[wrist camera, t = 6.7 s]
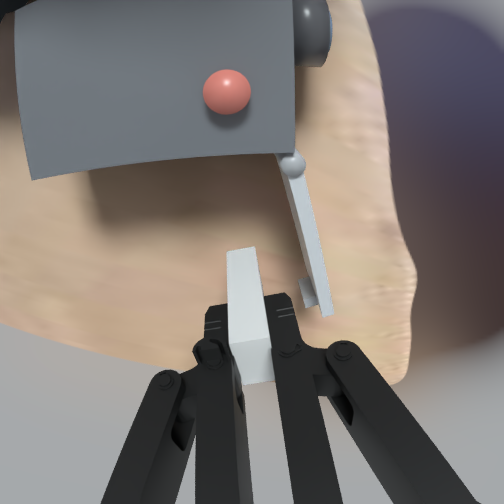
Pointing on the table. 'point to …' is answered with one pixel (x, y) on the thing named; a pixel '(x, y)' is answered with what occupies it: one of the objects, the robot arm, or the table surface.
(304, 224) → the door
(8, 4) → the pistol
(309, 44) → the camera body
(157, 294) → the table surface
